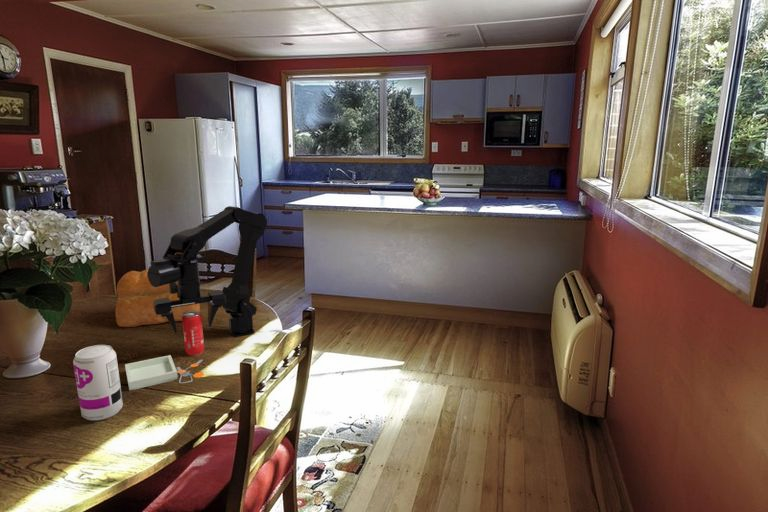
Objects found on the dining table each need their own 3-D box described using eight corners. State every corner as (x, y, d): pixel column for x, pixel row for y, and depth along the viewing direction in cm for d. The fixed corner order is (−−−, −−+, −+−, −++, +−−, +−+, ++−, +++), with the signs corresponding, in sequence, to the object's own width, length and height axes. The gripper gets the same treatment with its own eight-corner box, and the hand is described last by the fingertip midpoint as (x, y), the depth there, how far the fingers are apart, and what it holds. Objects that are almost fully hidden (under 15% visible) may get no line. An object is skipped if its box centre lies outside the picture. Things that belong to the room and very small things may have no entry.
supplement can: (94, 426, 103) (84, 363, 99) (74, 414, 107) (64, 353, 103) (130, 409, 109) (122, 349, 106) (110, 398, 114) (102, 340, 110)
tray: (171, 362, 132) (170, 355, 132) (177, 379, 123) (177, 371, 123) (125, 371, 127) (124, 364, 126) (129, 390, 117) (128, 382, 117)
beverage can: (197, 357, 136) (194, 317, 133) (181, 355, 137) (177, 316, 134) (207, 349, 141) (204, 311, 138) (192, 347, 142) (188, 309, 139)
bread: (120, 314, 167) (114, 267, 163) (199, 305, 177) (196, 261, 173) (114, 330, 153) (107, 279, 149) (200, 320, 163) (196, 272, 159)
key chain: (205, 381, 123) (205, 378, 123) (174, 385, 120) (174, 382, 120) (204, 360, 135) (204, 357, 134) (176, 364, 132) (176, 361, 132)
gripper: (215, 267, 145) (219, 315, 148) (148, 275, 135) (154, 326, 139) (225, 276, 135) (228, 327, 139) (153, 285, 126) (159, 340, 130)
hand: (192, 329), depth 137 cm, fingers open, 9 cm apart
